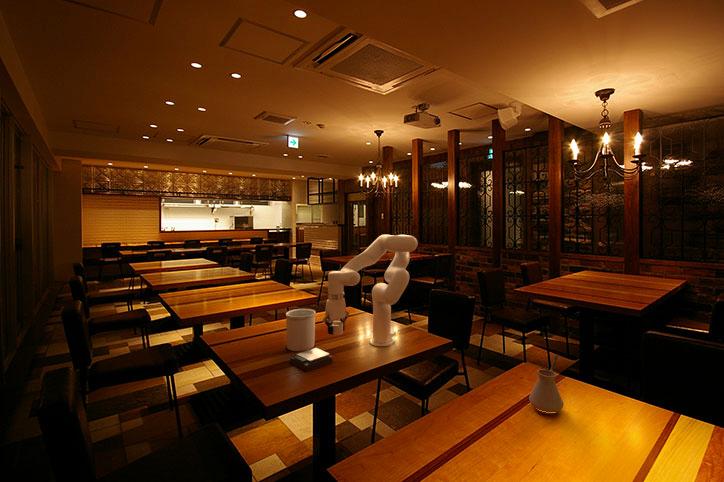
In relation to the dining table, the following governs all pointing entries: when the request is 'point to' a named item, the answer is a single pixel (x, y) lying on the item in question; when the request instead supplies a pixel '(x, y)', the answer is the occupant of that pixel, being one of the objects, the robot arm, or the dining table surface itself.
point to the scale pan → (313, 354)
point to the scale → (309, 365)
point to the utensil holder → (300, 329)
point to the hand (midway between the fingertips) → (336, 331)
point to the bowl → (337, 328)
